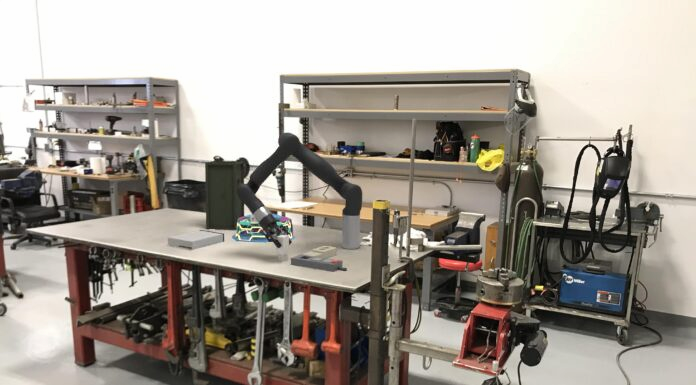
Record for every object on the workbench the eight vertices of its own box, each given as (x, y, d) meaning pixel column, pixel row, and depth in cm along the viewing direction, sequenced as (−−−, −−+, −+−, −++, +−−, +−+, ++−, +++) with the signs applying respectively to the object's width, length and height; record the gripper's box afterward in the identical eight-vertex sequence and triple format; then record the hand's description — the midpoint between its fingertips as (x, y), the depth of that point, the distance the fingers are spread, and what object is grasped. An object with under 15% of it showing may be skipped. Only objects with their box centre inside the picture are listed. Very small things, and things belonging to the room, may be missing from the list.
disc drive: (224, 242, 265) (224, 233, 264) (192, 251, 245) (192, 241, 245) (200, 238, 273) (200, 229, 273) (167, 246, 254) (167, 236, 253)
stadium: (298, 234, 288) (298, 210, 287) (291, 243, 264) (291, 217, 263) (238, 232, 290) (238, 208, 288) (226, 241, 266) (226, 215, 264)
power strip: (300, 260, 229) (300, 252, 229) (350, 268, 218) (350, 260, 217) (290, 264, 222) (290, 256, 222) (342, 272, 211) (342, 264, 210)
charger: (282, 258, 232) (282, 234, 231) (288, 259, 230) (288, 235, 229) (276, 261, 228) (276, 236, 226) (283, 262, 226) (283, 237, 225)
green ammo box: (215, 223, 315) (214, 160, 310) (244, 224, 314) (243, 161, 309) (206, 229, 296) (205, 162, 291) (236, 230, 296) (236, 163, 291)
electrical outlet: (301, 252, 231) (325, 245, 245) (301, 260, 231) (325, 253, 246) (313, 254, 226) (336, 247, 241) (313, 263, 227) (336, 255, 242)
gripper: (260, 215, 223) (281, 243, 220) (278, 211, 236) (298, 237, 232) (250, 225, 226) (271, 253, 223) (269, 221, 239) (289, 247, 235)
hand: (285, 245), depth 228 cm, fingers open, 8 cm apart
